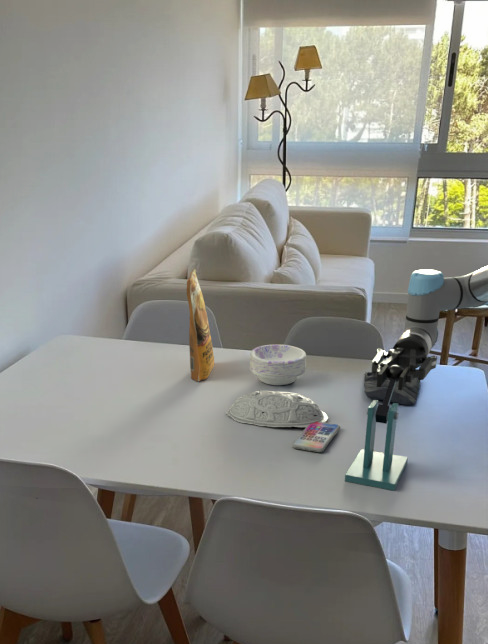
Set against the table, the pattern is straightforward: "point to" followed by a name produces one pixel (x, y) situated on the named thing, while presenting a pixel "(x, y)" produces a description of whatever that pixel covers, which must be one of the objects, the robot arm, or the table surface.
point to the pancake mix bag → (199, 332)
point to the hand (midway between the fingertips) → (389, 382)
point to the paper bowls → (277, 363)
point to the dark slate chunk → (398, 396)
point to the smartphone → (316, 436)
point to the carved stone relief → (276, 409)
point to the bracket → (378, 455)
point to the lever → (388, 393)
